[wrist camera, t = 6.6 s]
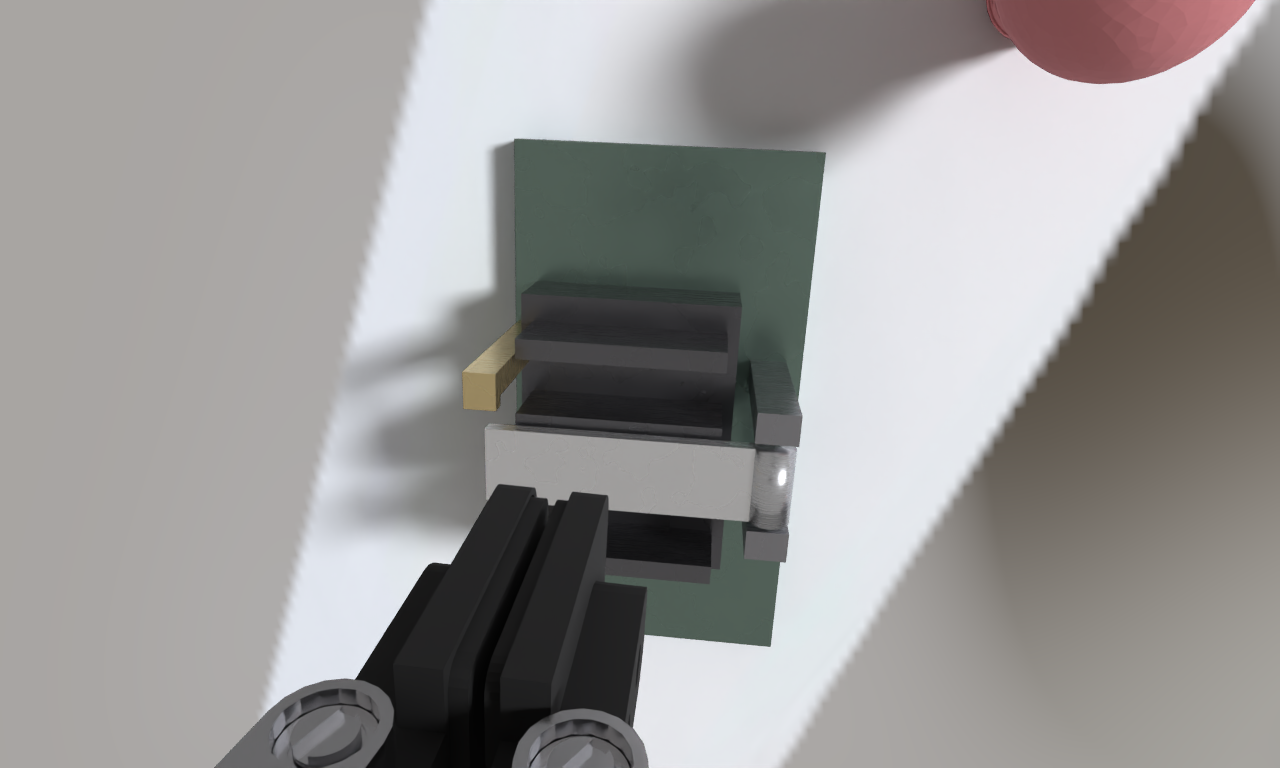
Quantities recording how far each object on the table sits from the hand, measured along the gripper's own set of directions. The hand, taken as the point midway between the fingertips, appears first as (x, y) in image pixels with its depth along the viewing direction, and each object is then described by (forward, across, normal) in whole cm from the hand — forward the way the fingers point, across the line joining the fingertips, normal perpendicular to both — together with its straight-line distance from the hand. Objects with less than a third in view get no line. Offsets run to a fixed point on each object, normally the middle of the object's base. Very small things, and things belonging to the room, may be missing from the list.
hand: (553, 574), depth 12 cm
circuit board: (+24, 0, +7) cm, 25 cm away
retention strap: (+17, 0, +7) cm, 19 cm away
